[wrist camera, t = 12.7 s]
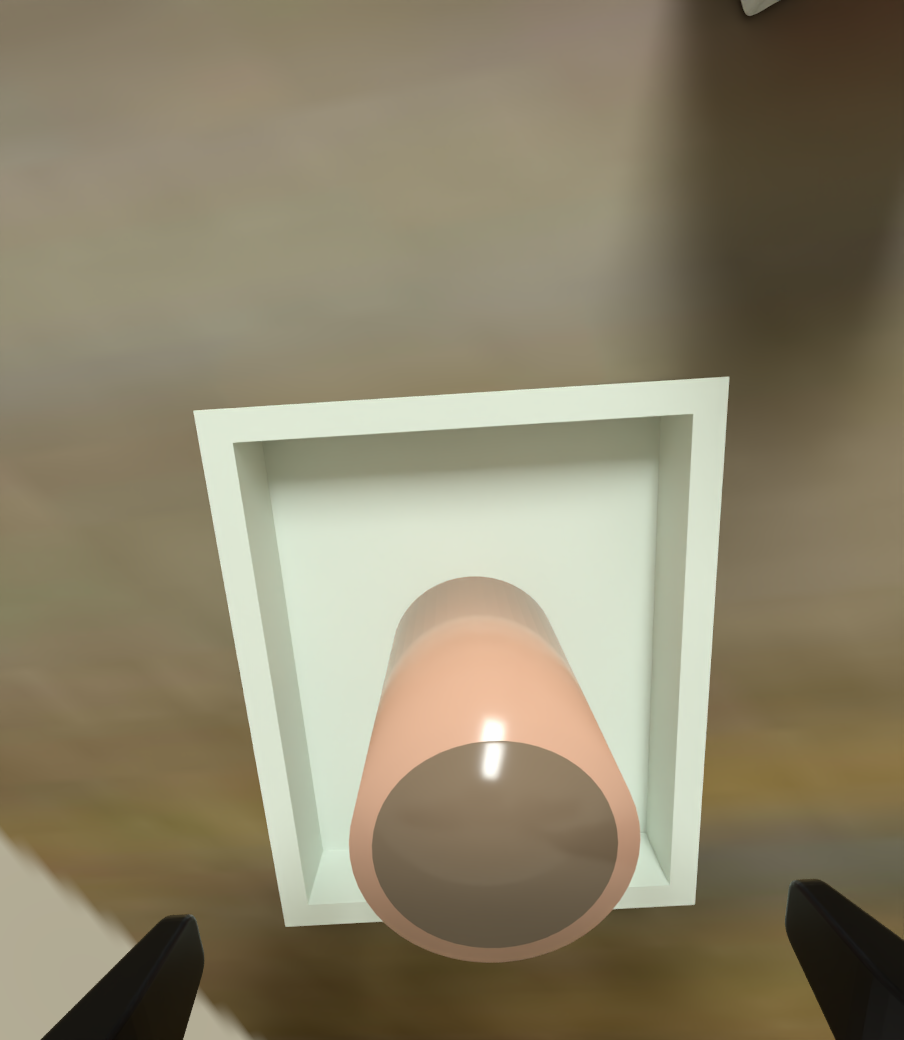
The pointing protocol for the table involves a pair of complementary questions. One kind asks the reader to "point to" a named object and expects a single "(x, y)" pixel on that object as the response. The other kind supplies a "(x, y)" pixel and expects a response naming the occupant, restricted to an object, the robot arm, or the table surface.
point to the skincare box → (756, 6)
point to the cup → (488, 785)
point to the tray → (462, 553)
